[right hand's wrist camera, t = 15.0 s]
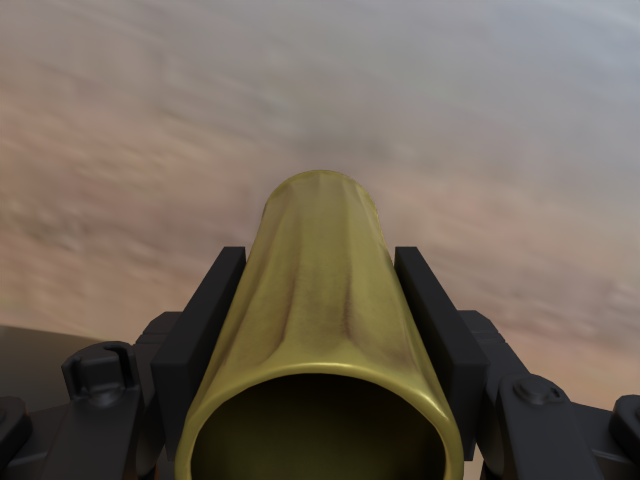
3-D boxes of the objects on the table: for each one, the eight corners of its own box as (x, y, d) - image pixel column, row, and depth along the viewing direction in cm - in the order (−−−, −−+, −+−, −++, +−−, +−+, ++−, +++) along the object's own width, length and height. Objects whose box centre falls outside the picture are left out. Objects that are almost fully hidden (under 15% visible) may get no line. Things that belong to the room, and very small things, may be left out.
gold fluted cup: (264, 279, 21) (169, 591, 8) (258, 168, 19) (111, 336, 6) (375, 279, 21) (468, 591, 8) (381, 168, 19) (524, 336, 6)
